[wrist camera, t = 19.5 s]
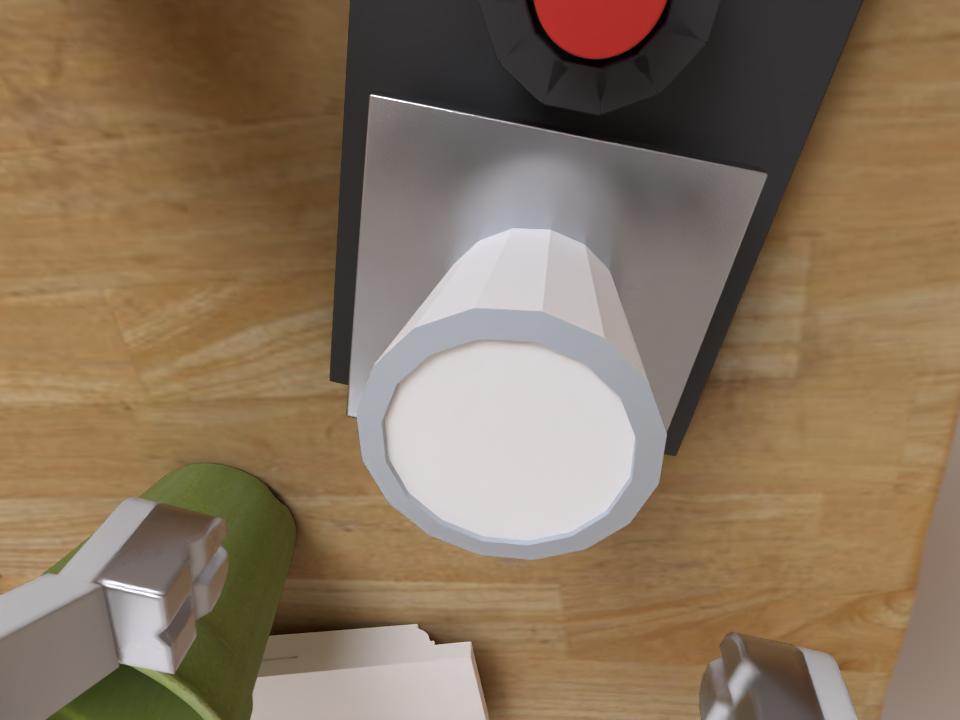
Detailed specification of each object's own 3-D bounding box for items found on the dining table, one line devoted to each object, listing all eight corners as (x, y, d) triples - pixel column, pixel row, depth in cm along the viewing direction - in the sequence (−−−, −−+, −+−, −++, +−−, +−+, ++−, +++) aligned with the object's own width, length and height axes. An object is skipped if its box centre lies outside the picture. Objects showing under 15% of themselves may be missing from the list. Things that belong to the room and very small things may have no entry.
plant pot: (376, 593, 33) (292, 839, 24) (178, 603, 36) (30, 827, 26) (296, 402, 28) (145, 619, 18) (70, 430, 31) (-166, 633, 21)
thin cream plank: (473, 548, 38) (31, 595, 41) (465, 627, 31) (-69, 679, 34) (496, 690, 41) (78, 727, 43) (494, 793, 34) (-7, 832, 36)
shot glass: (630, 187, 18) (654, 286, 12) (651, 395, 21) (678, 557, 15) (396, 226, 19) (312, 332, 13) (448, 415, 23) (399, 569, 17)
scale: (372, -191, 18) (337, -222, 15) (886, -96, 17) (941, -111, 15) (338, 366, 27) (312, 406, 24) (672, 439, 26) (682, 487, 24)
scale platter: (376, 88, 18) (368, 93, 18) (762, 166, 18) (769, 173, 17) (352, 404, 24) (345, 416, 23) (646, 468, 24) (647, 483, 23)
